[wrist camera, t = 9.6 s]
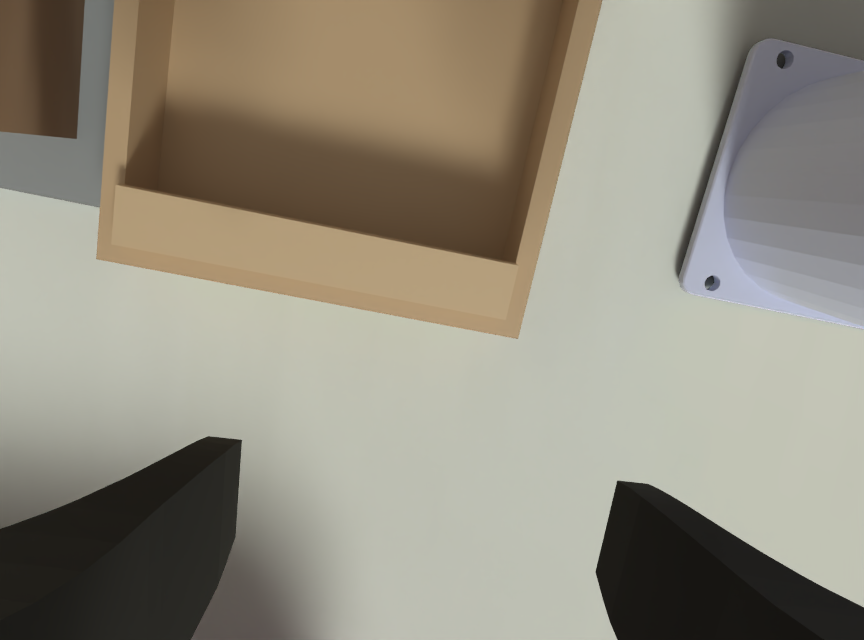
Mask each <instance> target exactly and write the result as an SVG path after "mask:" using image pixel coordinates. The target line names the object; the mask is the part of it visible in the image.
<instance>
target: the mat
mask: <svg viewBox="0 0 864 640" xmlns="http://www.w3.org/2000/svg"><path fill="white" fill-rule="evenodd" d="M113 12H114V0H85V6H84V24H83V41H82V58H81V76H80V93H79V110H78V128H77V139H71V138H61V137H51V136H41V135H31V134H20V133H10V132H0V188H4V189H9V190H14V191H19V192H24V193H29V194H34V195H39V196H45V197H50V198H55V199H60V200H65V201H70V202H75V203H80V204H85V205H90V206H95V207H100V200H101V185H102V171H103V156H104V142H105V127H106V113H107V99H108V84H109V70H110V55H111V41H112V26H113Z"/></svg>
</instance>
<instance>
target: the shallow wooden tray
mask: <svg viewBox="0 0 864 640" xmlns="http://www.w3.org/2000/svg"><path fill="white" fill-rule="evenodd" d="M601 4H602V0H114V12H113V26H112V41H111V55H110V70H109V84H108V99H107V113H106V127H105V142H104V156H103V171H102V185H101V200H100V214H99V229H98V243H97V257H96V259H99V260H104V261H109V262H115V263H120V264H125V265H131V266H136V267H141V268H146V269H152V270H157V271H162V272H168V273H173V274H178V275H183V276H189V277H194V278H199V279H204V280H210V281H215V282H220V283H226V284H231V285H236V286H241V287H247V288H252V289H257V290H263V291H268V292H273V293H278V294H284V295H289V296H294V297H299V298H305V299H310V300H315V301H321V302H326V303H331V304H336V305H342V306H347V307H352V308H358V309H363V310H368V311H373V312H379V313H384V314H389V315H394V316H400V317H405V318H410V319H416V320H421V321H426V322H431V323H437V324H442V325H447V326H453V327H458V328H463V329H468V330H474V331H479V332H484V333H489V334H495V335H500V336H505V337H511V338H516V339H518V336H519V332H520V328H521V324H522V320H523V316H524V312H525V308H526V304H527V300H528V296H529V292H530V288H531V284H532V280H533V276H534V272H535V268H536V264H537V260H538V256H539V252H540V248H541V244H542V240H543V236H544V232H545V228H546V224H547V220H548V216H549V212H550V208H551V204H552V200H553V196H554V192H555V188H556V184H557V180H558V176H559V172H560V168H561V164H562V160H563V156H564V152H565V148H566V144H567V140H568V136H569V132H570V128H571V124H572V120H573V116H574V112H575V108H576V104H577V100H578V96H579V92H580V88H581V84H582V80H583V76H584V72H585V68H586V64H587V60H588V56H589V52H590V48H591V44H592V40H593V36H594V32H595V28H596V24H597V20H598V16H599V12H600V8H601Z"/></svg>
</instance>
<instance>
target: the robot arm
mask: <svg viewBox="0 0 864 640" xmlns="http://www.w3.org/2000/svg"><path fill="white" fill-rule="evenodd" d="M779 53H781V54H783V55H784V57H785V59H786V60H785V65H784V67H783V68H782V69H781V68H780V67H778V65H777V63H776V62H777V56H778V55H779ZM712 275H713V277H714V283H713V285H712V286H711V287H710V288H708V289H706V287H705V281H706V279H707V278H708V277H709V276H712ZM679 284H680V287H681V288H682V289H683V290H684V291H686V292H688V293H690V294H693V295H697V296H702V297H707V298H712V299H717V300H722V301H727V302H732V303H737V304H742V305H747V306H752V307H757V308H762V309H767V310H772V311H777V312H782V313H787V314H792V315H796V316H801V317H806V318H811V319H816V320H821V321H826V322H831V323H836V324H841V325H846V326H851V327H856V328H861V329H864V60H860V59H856V58H852V57H848V56H843V55H839V54H835V53H831V52H827V51H823V50H819V49H815V48H811V47H807V46H803V45H799V44H795V43H791V42H786V41H782V40H778V39H773V38H768V39H765V40H762V41H760V42H758V43H756V44H755V45H754V46H753V47H752V48H751V49H750V51H749V53H748V55H747V58H746V62H745V65H744V68H743V71H742V75H741V78H740V81H739V84H738V88H737V91H736V94H735V97H734V100H733V104H732V107H731V110H730V113H729V117H728V120H727V123H726V126H725V130H724V133H723V136H722V139H721V142H720V146H719V149H718V152H717V155H716V159H715V162H714V165H713V168H712V172H711V175H710V178H709V181H708V184H707V188H706V191H705V194H704V197H703V201H702V204H701V207H700V210H699V213H698V217H697V220H696V223H695V226H694V230H693V233H692V236H691V239H690V243H689V246H688V249H687V252H686V255H685V259H684V262H683V265H682V268H681V272H680V275H679ZM241 443H242V440H237V439H228V438H219V437H210V436H208V437H206V438H203V439H201V440H199V441H196V442H194V443H192V444H190V445H188V446H186V447H184V448H183V449H181V450H179V451H177V452H175V453H173V454H171V455H169V456H167V457H165V458H163V459H162V460H160V461H158V462H156V463H154V464H152V465H150V466H148V467H146V468H144V469H142V470H140V471H138V472H136V473H134V474H132V475H130V476H128V477H126V478H124V479H122V480H120V481H118V482H115V483H113V484H111V485H109V486H107V487H105V488H102V489H100V490H98V491H96V492H94V493H92V494H89V495H87V496H85V497H83V498H81V499H79V500H76V501H74V502H71V503H69V504H67V505H64V506H62V507H59V508H57V509H54V510H52V511H49V512H47V513H44V514H41V515H38V516H36V517H33V518H30V519H27V520H25V521H22V522H19V523H16V524H14V525H11V526H8V527H5V528H2V529H0V640H191V638H192V636H193V634H194V632H195V630H196V628H197V626H198V624H199V622H200V620H201V618H202V616H203V614H204V612H205V610H206V608H207V606H208V604H209V602H210V600H211V598H212V596H213V594H214V592H215V590H216V588H217V586H218V584H219V581H220V578H221V576H222V573H223V570H224V568H225V565H226V562H227V559H228V556H229V553H230V551H231V548H232V545H233V542H234V539H235V533H236V518H237V503H238V488H239V473H240V458H241ZM596 575H597V578H598V582H599V586H600V590H601V593H602V597H603V601H604V604H605V607H606V610H607V614H608V617H609V620H610V623H611V625H612V628H613V630H614V632H615V635H616V637H617V639H618V640H864V607H862V606H860V605H858V604H856V603H854V602H852V601H850V600H848V599H846V598H844V597H842V596H840V595H838V594H836V593H834V592H832V591H830V590H828V589H826V588H824V587H822V586H820V585H818V584H816V583H814V582H813V581H811V580H809V579H807V578H805V577H803V576H802V575H800V574H798V573H796V572H795V571H793V570H791V569H789V568H788V567H786V566H784V565H783V564H781V563H779V562H777V561H776V560H774V559H772V558H770V557H769V556H767V555H765V554H764V553H762V552H760V551H759V550H757V549H755V548H754V547H752V546H750V545H749V544H747V543H746V542H744V541H742V540H741V539H739V538H738V537H736V536H734V535H733V534H731V533H730V532H728V531H726V530H725V529H723V528H722V527H720V526H718V525H717V524H715V523H714V522H712V521H711V520H709V519H707V518H706V517H704V516H703V515H701V514H700V513H698V512H696V511H695V510H693V509H692V508H690V507H688V506H687V505H685V504H684V503H682V502H680V501H679V500H677V499H675V498H674V497H672V496H670V495H669V494H667V493H665V492H663V491H661V490H659V489H658V488H655V487H653V486H651V485H649V484H643V483H634V482H625V481H617V485H616V489H615V493H614V497H613V501H612V505H611V510H610V514H609V518H608V522H607V526H606V531H605V535H604V539H603V543H602V547H601V551H600V556H599V560H598V564H597V568H596Z"/></svg>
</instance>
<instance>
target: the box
mask: <svg viewBox="0 0 864 640" xmlns="http://www.w3.org/2000/svg"><path fill="white" fill-rule="evenodd" d="M84 6H85V0H0V132H10V133H20V134H31V135H41V136H51V137H61V138H71V139H77V128H78V110H79V93H80V76H81V58H82V41H83V24H84Z"/></svg>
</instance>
